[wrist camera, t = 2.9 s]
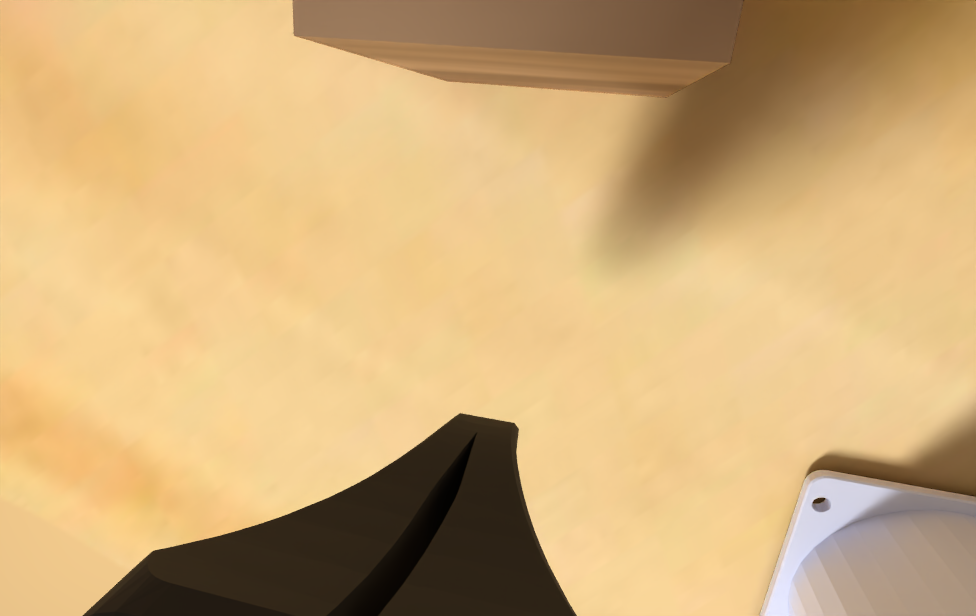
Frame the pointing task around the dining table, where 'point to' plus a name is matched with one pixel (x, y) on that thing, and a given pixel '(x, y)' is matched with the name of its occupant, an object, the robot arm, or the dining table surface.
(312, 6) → the walnut block
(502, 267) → the dining table surface
